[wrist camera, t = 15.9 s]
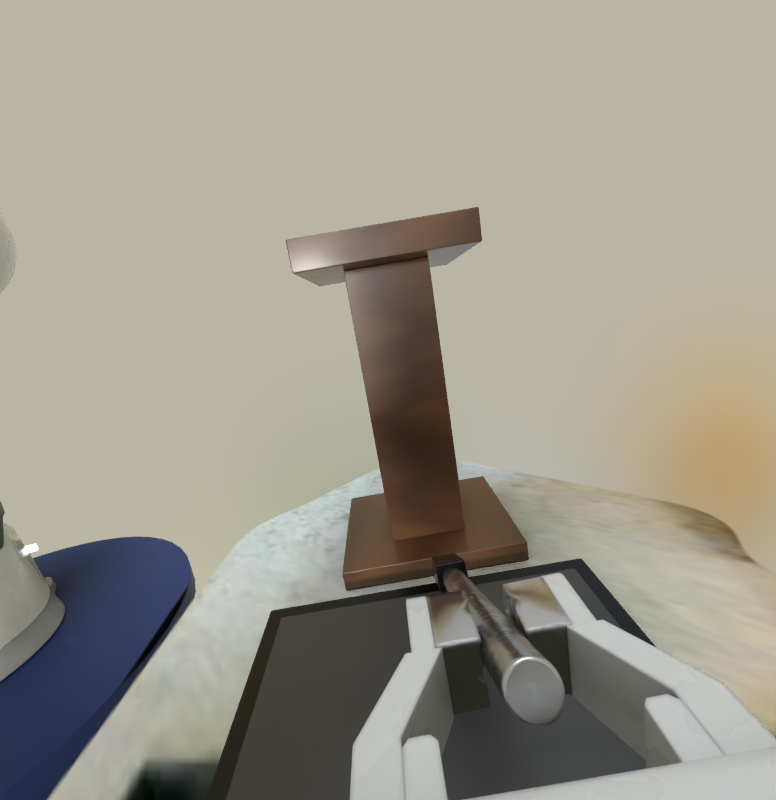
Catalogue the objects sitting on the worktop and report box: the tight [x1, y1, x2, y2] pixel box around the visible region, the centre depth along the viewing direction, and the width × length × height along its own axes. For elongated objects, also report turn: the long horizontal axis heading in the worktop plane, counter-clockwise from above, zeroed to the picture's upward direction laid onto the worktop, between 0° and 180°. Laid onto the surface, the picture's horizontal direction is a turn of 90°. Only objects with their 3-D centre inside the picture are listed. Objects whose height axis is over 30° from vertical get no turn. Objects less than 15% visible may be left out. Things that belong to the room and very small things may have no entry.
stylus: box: [431, 553, 565, 728], centre depth 14 cm, size 1×16×1 cm
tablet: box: [206, 559, 656, 800], centre depth 17 cm, size 22×20×1 cm
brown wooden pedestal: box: [286, 207, 529, 590], centre depth 32 cm, size 14×12×25 cm
